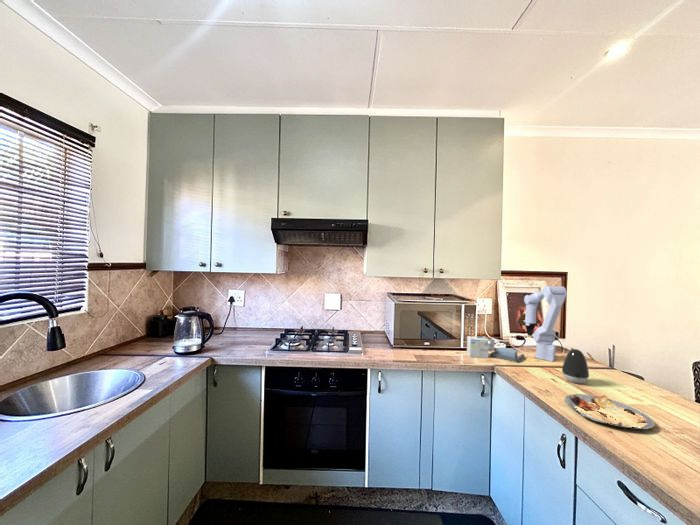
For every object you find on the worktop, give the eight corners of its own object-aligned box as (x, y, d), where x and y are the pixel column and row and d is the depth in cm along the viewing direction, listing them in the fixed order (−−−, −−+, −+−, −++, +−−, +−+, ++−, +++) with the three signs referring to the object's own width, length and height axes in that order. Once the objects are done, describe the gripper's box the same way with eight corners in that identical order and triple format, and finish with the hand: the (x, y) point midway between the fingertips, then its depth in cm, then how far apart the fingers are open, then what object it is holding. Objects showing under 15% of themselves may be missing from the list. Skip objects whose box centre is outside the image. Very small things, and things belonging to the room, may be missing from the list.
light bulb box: (484, 354, 183) (485, 336, 183) (488, 358, 177) (489, 339, 177) (466, 353, 184) (466, 335, 184) (469, 357, 177) (470, 338, 177)
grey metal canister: (495, 349, 196) (495, 340, 196) (492, 351, 192) (493, 341, 192) (487, 347, 199) (487, 338, 199) (484, 349, 195) (484, 339, 195)
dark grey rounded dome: (583, 379, 148) (584, 347, 148) (592, 387, 138) (593, 353, 138) (558, 375, 152) (559, 345, 152) (565, 383, 142) (567, 350, 142)
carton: (517, 357, 180) (517, 350, 180) (514, 361, 174) (514, 353, 174) (500, 354, 186) (500, 347, 185) (497, 357, 179) (497, 349, 179)
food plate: (553, 396, 127) (553, 388, 127) (614, 401, 125) (614, 393, 125) (594, 431, 102) (595, 421, 102) (672, 438, 100) (673, 428, 100)
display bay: (524, 357, 180) (524, 354, 180) (517, 362, 170) (517, 359, 170) (498, 352, 189) (498, 348, 189) (490, 356, 180) (490, 353, 180)
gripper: (526, 312, 204) (525, 332, 204) (520, 314, 194) (519, 336, 194) (538, 313, 199) (538, 334, 199) (533, 316, 189) (532, 338, 189)
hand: (529, 335), depth 196 cm, fingers closed
